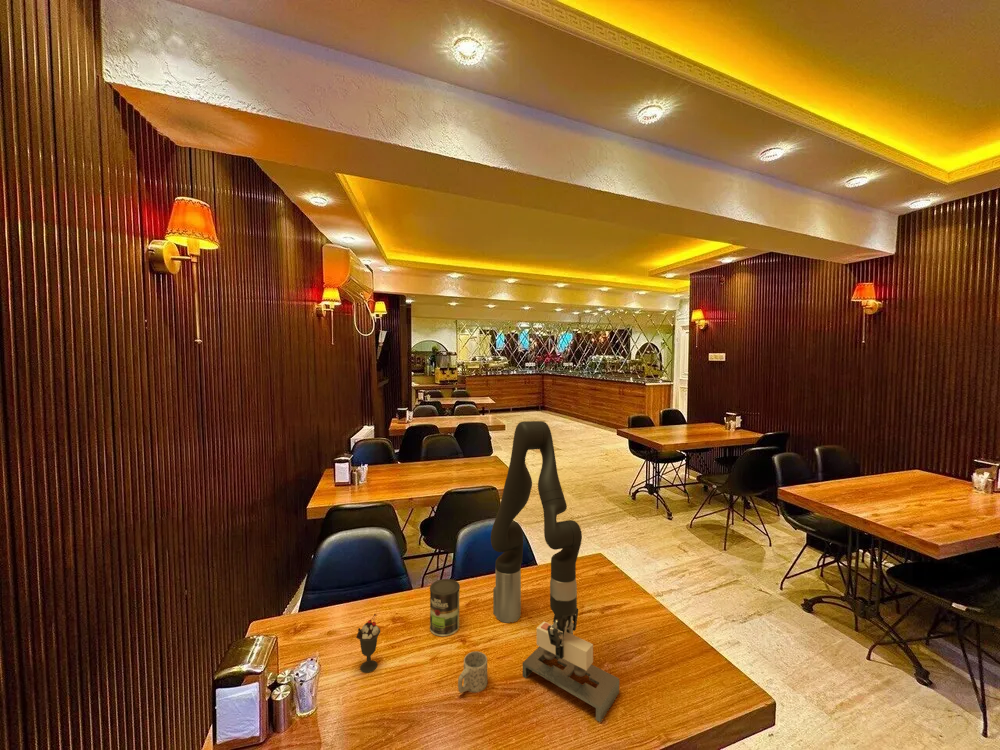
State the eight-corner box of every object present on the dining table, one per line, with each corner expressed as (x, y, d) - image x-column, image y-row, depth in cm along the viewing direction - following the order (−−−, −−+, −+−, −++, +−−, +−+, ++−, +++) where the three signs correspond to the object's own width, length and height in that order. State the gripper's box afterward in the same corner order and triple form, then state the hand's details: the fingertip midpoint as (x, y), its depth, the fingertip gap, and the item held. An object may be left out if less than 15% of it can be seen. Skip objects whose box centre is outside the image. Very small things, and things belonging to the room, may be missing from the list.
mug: (474, 670, 115) (474, 648, 115) (492, 681, 111) (492, 658, 111) (450, 691, 107) (450, 667, 107) (467, 704, 103) (467, 679, 103)
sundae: (385, 661, 119) (385, 612, 119) (370, 677, 112) (370, 625, 112) (367, 656, 121) (367, 607, 121) (352, 671, 114) (352, 620, 115)
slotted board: (522, 676, 113) (522, 662, 113) (545, 653, 122) (545, 640, 122) (600, 723, 97) (600, 707, 97) (619, 693, 107) (619, 678, 107)
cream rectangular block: (536, 655, 114) (536, 626, 114) (544, 647, 117) (543, 619, 118) (586, 681, 104) (586, 650, 104) (593, 673, 107) (592, 642, 107)
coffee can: (450, 640, 128) (450, 597, 128) (423, 632, 132) (424, 590, 132) (465, 621, 138) (465, 581, 138) (439, 615, 142) (439, 576, 142)
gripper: (564, 578, 119) (564, 634, 119) (538, 598, 108) (538, 660, 108) (586, 586, 114) (587, 644, 114) (562, 608, 103) (562, 673, 103)
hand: (563, 652), depth 111 cm, fingers closed on cream rectangular block, 4 cm apart
